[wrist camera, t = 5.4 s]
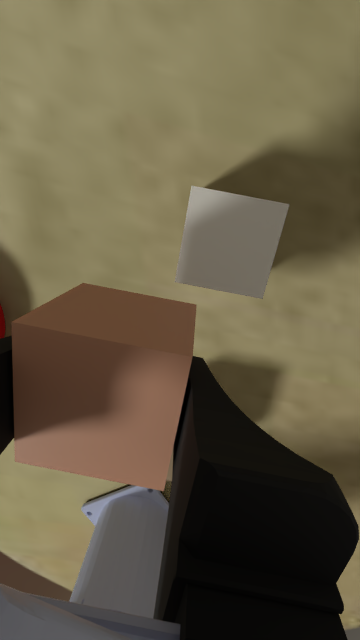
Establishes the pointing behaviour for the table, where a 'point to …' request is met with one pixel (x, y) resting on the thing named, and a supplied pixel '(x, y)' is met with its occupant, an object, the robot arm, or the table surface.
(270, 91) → the table surface
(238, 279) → the cream cube
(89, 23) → the table surface
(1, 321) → the decorative ornament
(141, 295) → the terracotta cube
